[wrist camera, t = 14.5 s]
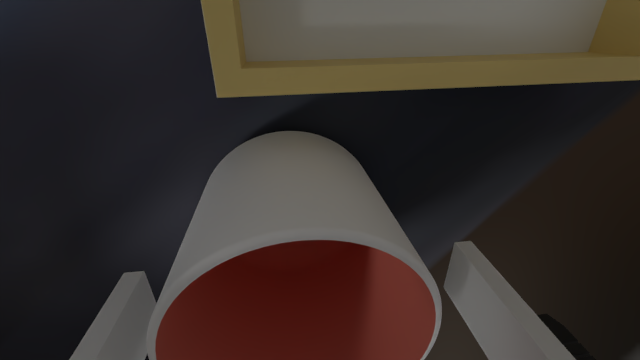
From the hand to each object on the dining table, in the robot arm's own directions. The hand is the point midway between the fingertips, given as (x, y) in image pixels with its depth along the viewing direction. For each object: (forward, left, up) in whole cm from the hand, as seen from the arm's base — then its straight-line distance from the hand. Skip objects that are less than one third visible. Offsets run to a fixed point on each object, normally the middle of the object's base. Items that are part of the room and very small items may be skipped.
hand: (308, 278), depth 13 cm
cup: (0, 0, -7) cm, 7 cm away
